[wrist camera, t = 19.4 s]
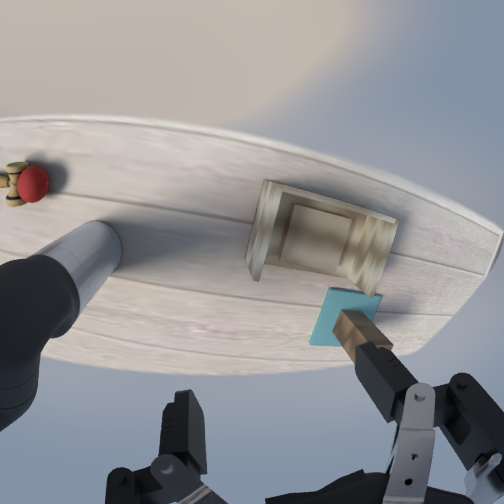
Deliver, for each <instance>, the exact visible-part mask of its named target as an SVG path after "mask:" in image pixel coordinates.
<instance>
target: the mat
mask: <svg viewBox="0 0 504 504" xmlns="http://www.w3.org/2000/svg"><path fill="white" fill-rule="evenodd" d="M380 300H381V296H380V295H376V294H374V297H373V298H369V297H368V296H367V295H366V294H365V293H362V292H355V291H348V290H341V289H334V288H329V290H328V293H327V295H326V298H325V301H324V304H323V307H322V309H321V312H320V315H319V317H318V320H317V323H316V325H315V328H314V330H313V333H312V335H311V338H310V341H309V343H310V345H320V346H342V345H341V344H340V342H339V341H338V340H337V338H336V337H335V335H334V334H333V332H332V330H333V328H334V325H335V323H336V320H337V318H338V315H339V313H340V310H341V309H342V310H352V311H362V312H363V313H364V314H365V315H366V316H367V317H368V319H369V320H370V321H372V319H373V316H374V314H375V312H376V309H377V307H378V304H379V302H380Z"/></svg>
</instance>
